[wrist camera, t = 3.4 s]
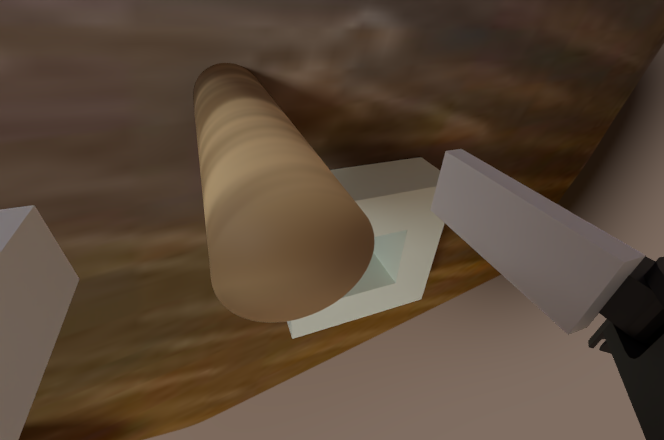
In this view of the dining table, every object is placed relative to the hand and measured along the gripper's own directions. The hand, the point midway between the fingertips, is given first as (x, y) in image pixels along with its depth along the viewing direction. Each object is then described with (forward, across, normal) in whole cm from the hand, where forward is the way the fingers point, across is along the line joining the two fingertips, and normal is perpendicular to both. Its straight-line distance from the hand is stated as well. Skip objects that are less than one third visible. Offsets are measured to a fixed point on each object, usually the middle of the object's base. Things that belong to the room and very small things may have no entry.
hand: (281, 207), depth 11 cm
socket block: (+13, +9, -13) cm, 20 cm away
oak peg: (+13, 0, 0) cm, 13 cm away
